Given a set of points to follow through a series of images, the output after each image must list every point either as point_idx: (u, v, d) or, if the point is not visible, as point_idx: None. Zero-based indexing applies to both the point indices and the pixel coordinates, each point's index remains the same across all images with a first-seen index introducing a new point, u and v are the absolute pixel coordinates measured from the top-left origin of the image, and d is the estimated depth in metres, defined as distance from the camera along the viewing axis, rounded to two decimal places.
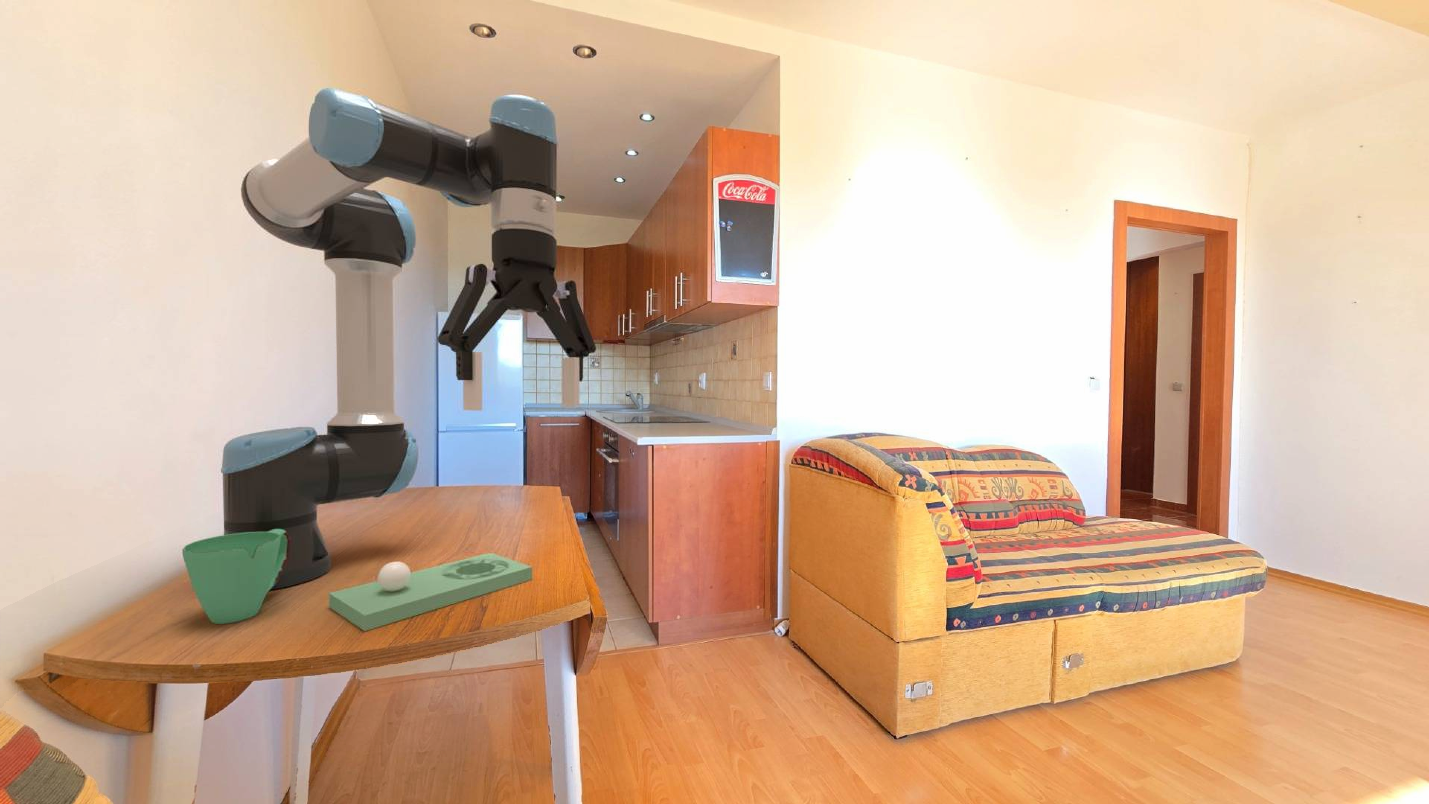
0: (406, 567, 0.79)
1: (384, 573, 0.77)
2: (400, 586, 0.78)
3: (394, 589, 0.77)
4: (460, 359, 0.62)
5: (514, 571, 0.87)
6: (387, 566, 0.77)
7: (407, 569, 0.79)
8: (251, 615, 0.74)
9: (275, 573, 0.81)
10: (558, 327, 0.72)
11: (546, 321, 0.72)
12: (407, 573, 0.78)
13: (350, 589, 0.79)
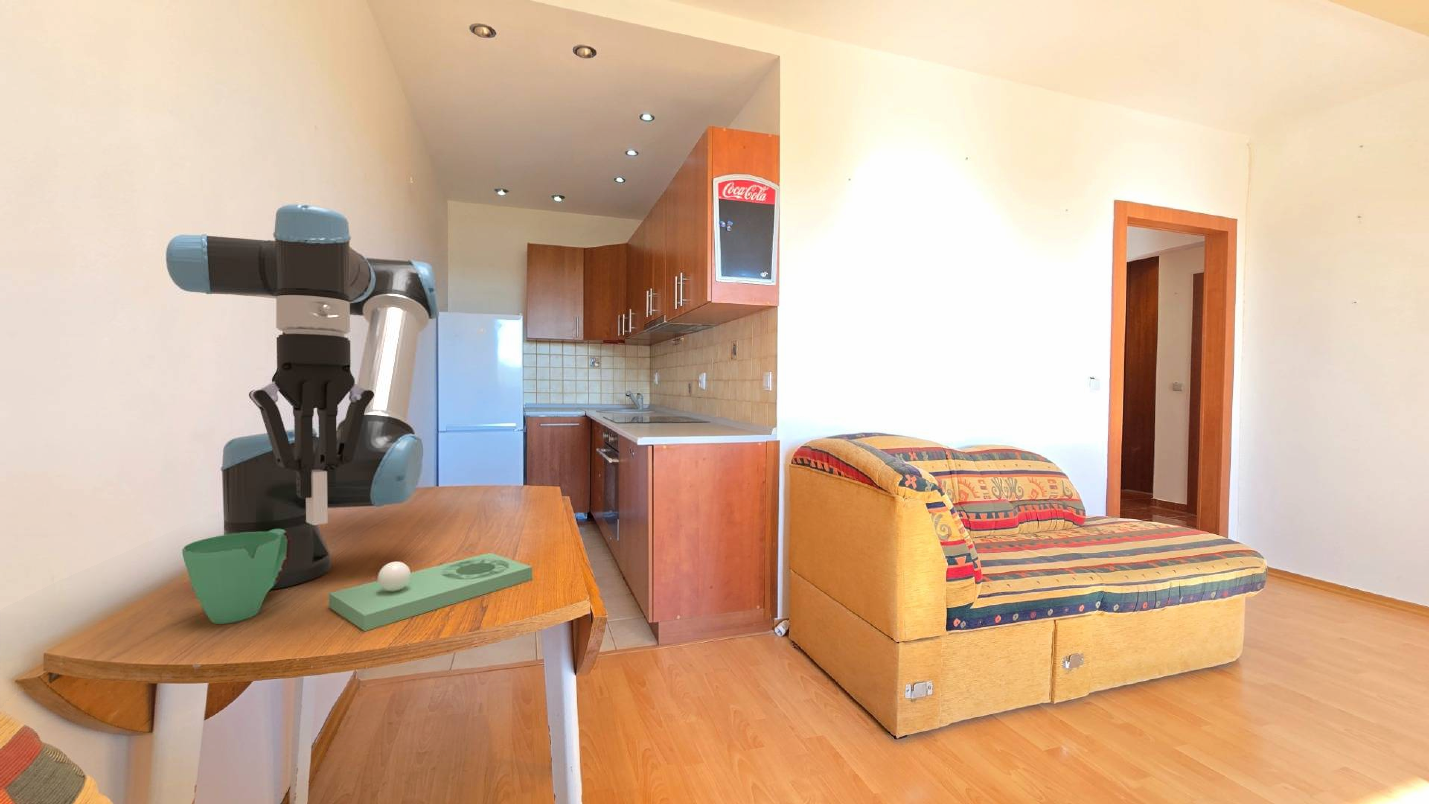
0: (406, 567, 0.79)
1: (384, 573, 0.77)
2: (400, 586, 0.78)
3: (394, 589, 0.77)
4: (298, 479, 0.69)
5: (514, 571, 0.87)
6: (387, 566, 0.77)
7: (407, 569, 0.79)
8: (251, 615, 0.74)
9: (275, 573, 0.81)
10: (324, 430, 0.71)
11: (319, 421, 0.72)
12: (407, 573, 0.78)
13: (350, 589, 0.79)
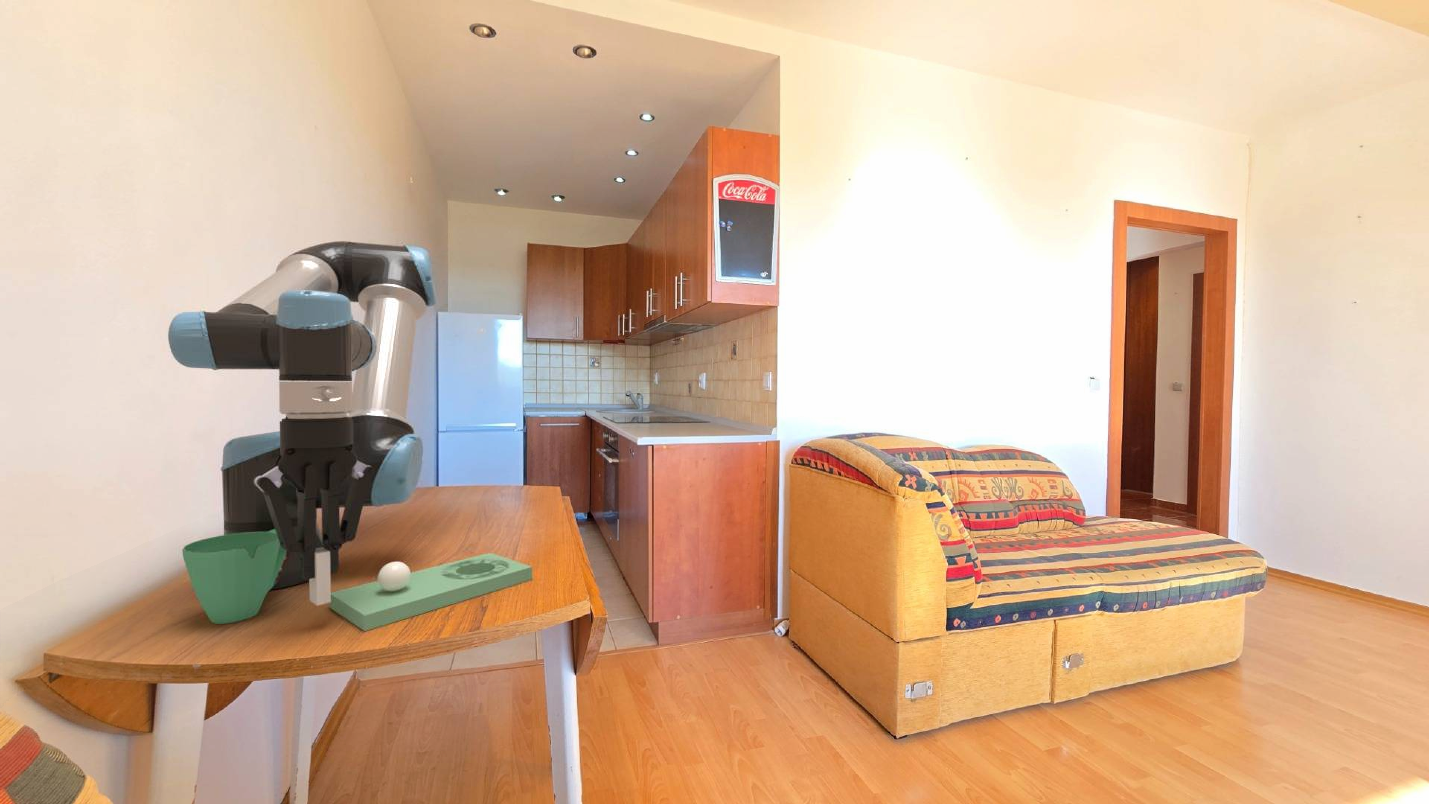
0: (406, 567, 0.79)
1: (384, 573, 0.77)
2: (400, 586, 0.78)
3: (394, 589, 0.77)
4: (302, 561, 0.70)
5: (514, 571, 0.87)
6: (387, 566, 0.77)
7: (407, 569, 0.79)
8: (251, 615, 0.74)
9: (275, 573, 0.81)
10: (327, 510, 0.71)
11: (322, 500, 0.72)
12: (407, 573, 0.78)
13: (350, 589, 0.79)
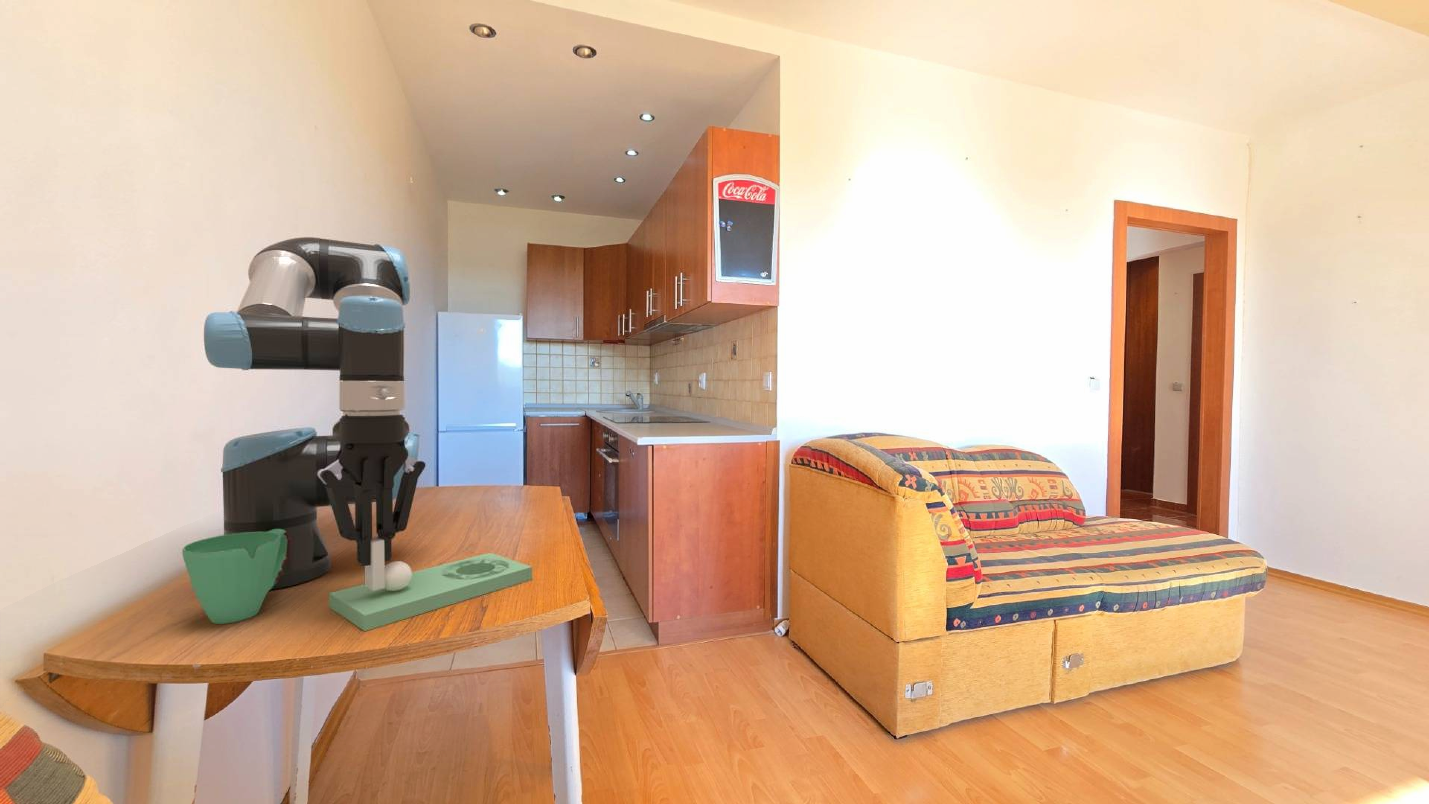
0: (408, 567, 0.79)
1: (385, 572, 0.77)
2: (401, 586, 0.78)
3: (395, 589, 0.77)
4: (359, 549, 0.75)
5: (514, 571, 0.87)
6: (389, 565, 0.78)
7: (409, 569, 0.79)
8: (251, 615, 0.74)
9: (275, 573, 0.81)
10: (381, 501, 0.76)
11: (376, 492, 0.77)
12: (409, 573, 0.78)
13: (350, 589, 0.79)
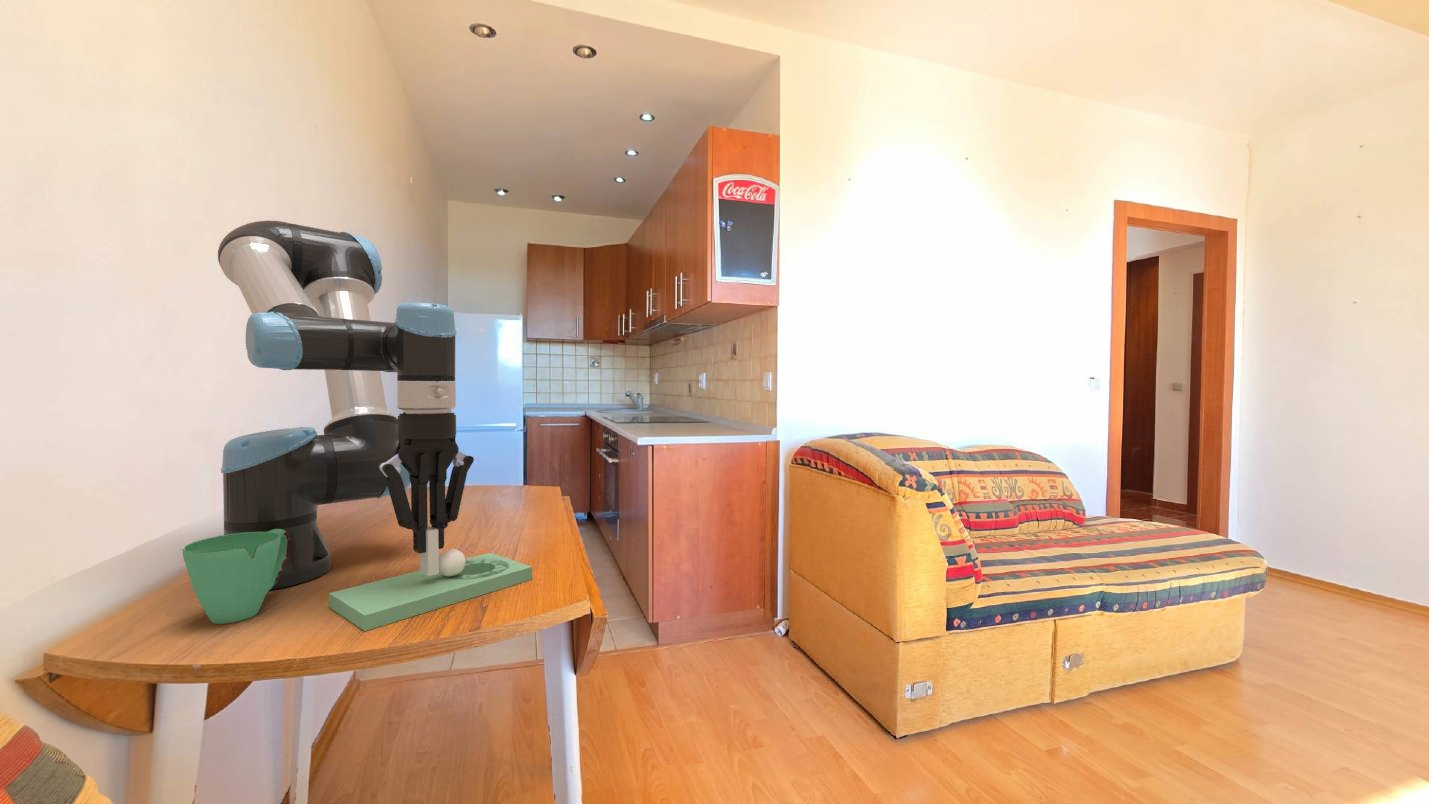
0: (442, 566, 0.83)
1: None
2: (460, 558, 0.84)
3: (464, 558, 0.85)
4: (416, 537, 0.80)
5: (514, 571, 0.87)
6: (448, 576, 0.84)
7: (444, 565, 0.83)
8: (251, 615, 0.74)
9: (275, 573, 0.81)
10: (435, 493, 0.82)
11: (430, 484, 0.83)
12: (448, 563, 0.83)
13: (350, 589, 0.79)
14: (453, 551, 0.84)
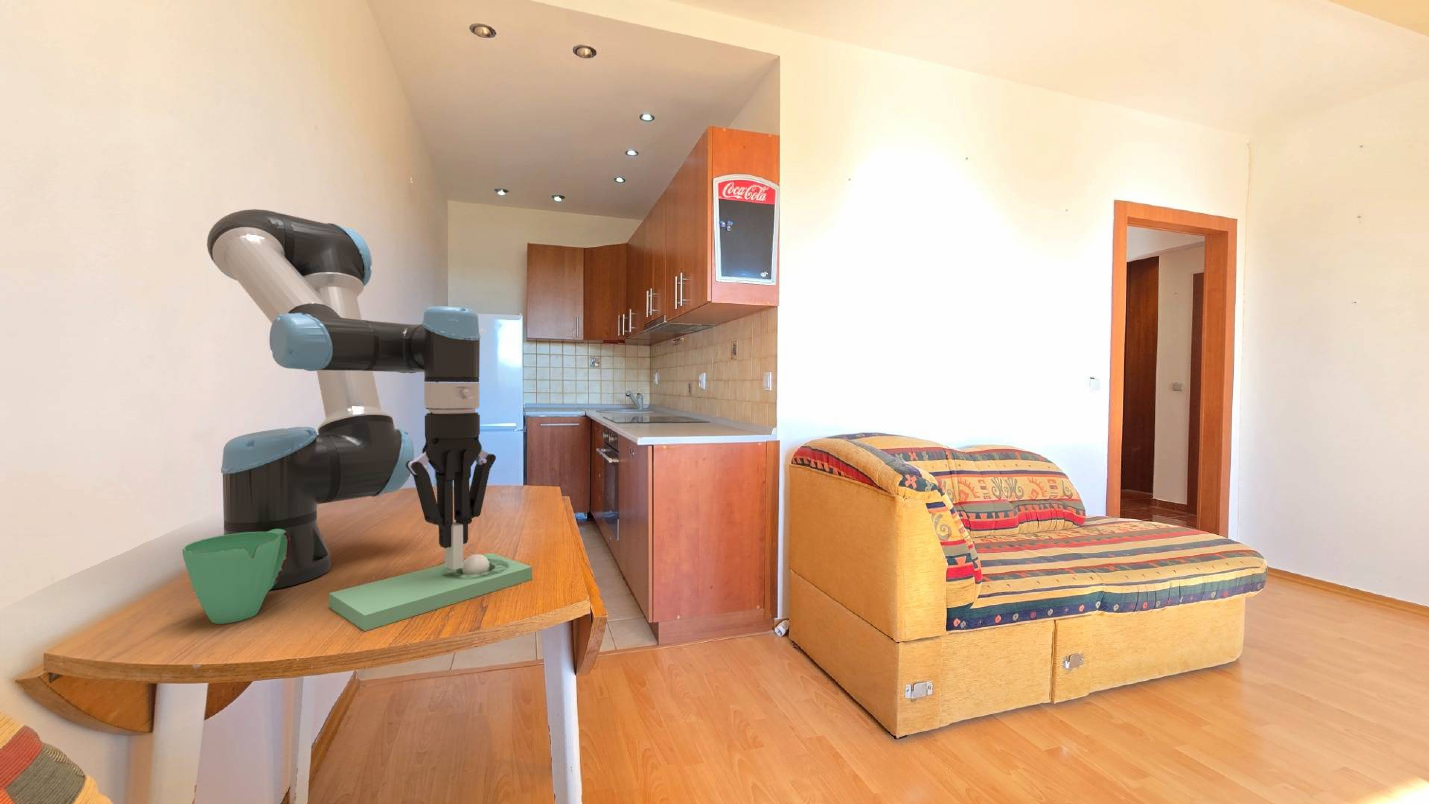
0: (486, 558, 0.89)
1: (468, 559, 0.88)
2: (481, 572, 0.87)
3: None
4: (442, 532, 0.83)
5: (514, 571, 0.87)
6: None
7: (487, 560, 0.89)
8: (251, 615, 0.74)
9: (275, 573, 0.81)
10: (460, 490, 0.85)
11: (454, 482, 0.86)
12: (487, 562, 0.89)
13: (350, 589, 0.79)
14: None
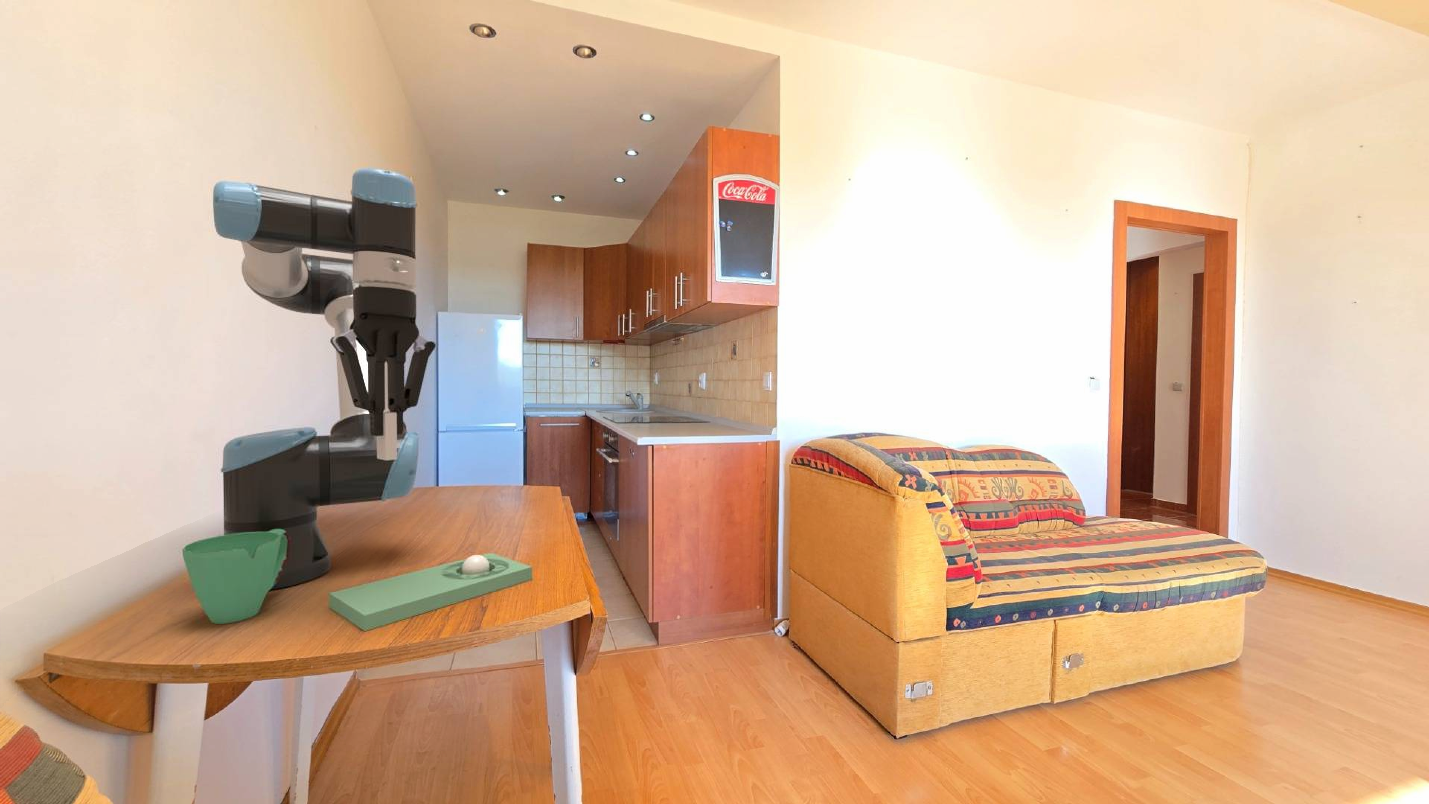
0: (486, 559, 0.89)
1: (467, 562, 0.87)
2: None
3: None
4: (372, 419, 0.77)
5: (514, 571, 0.87)
6: (470, 557, 0.88)
7: (487, 561, 0.89)
8: (251, 615, 0.74)
9: (275, 573, 0.81)
10: (393, 375, 0.78)
11: (388, 367, 0.79)
12: (487, 564, 0.88)
13: (350, 589, 0.79)
14: None
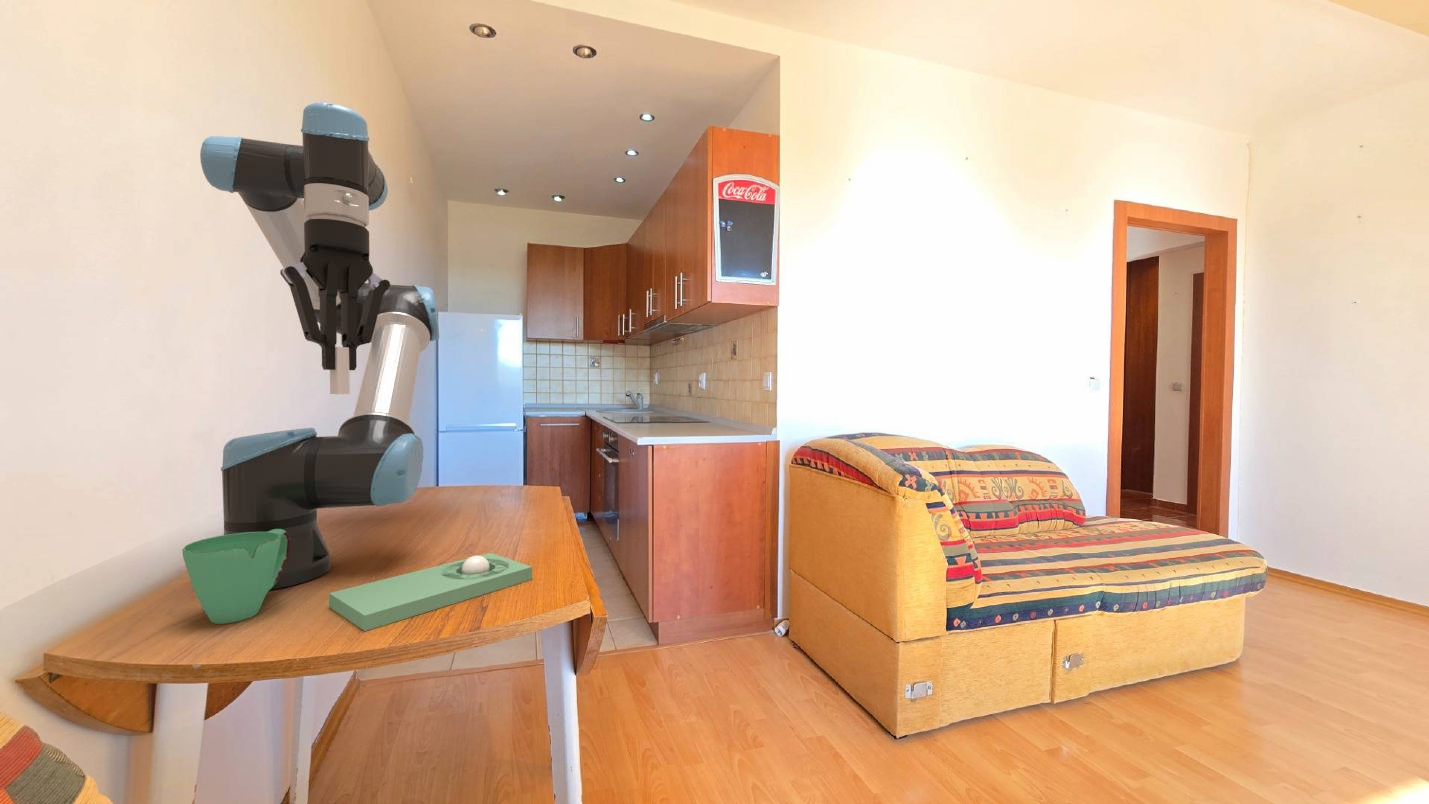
0: (486, 560, 0.88)
1: (467, 564, 0.86)
2: None
3: None
4: (324, 352, 0.77)
5: (514, 571, 0.87)
6: (470, 558, 0.87)
7: (487, 562, 0.88)
8: (251, 615, 0.74)
9: (275, 573, 0.81)
10: (346, 310, 0.78)
11: (341, 303, 0.79)
12: (487, 566, 0.88)
13: (350, 589, 0.79)
14: None
